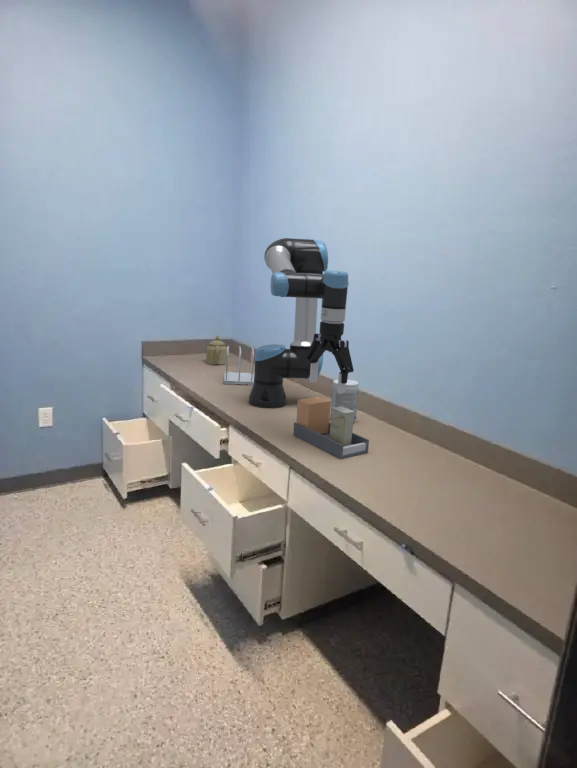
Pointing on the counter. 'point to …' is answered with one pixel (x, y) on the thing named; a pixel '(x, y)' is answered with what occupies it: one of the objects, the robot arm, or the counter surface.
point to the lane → (332, 442)
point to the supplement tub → (345, 396)
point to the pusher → (314, 414)
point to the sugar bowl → (216, 352)
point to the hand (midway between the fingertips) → (326, 387)
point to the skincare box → (341, 425)
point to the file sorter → (237, 376)
